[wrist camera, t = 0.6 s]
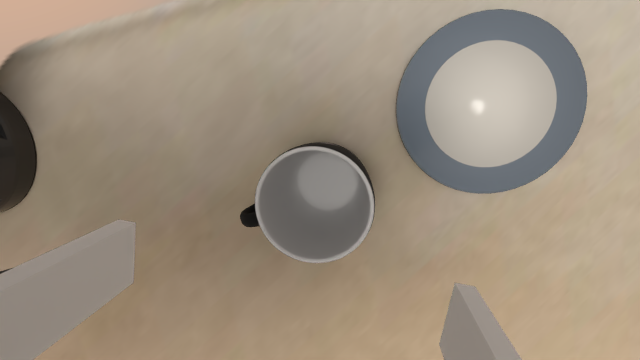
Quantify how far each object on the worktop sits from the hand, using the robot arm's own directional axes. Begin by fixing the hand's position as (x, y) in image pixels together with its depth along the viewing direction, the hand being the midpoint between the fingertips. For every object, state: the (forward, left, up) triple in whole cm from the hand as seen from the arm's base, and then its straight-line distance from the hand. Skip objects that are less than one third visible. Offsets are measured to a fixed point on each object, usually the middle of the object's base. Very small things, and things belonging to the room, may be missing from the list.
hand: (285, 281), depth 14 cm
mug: (-2, -1, -22) cm, 22 cm away
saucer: (+11, +11, -22) cm, 27 cm away
